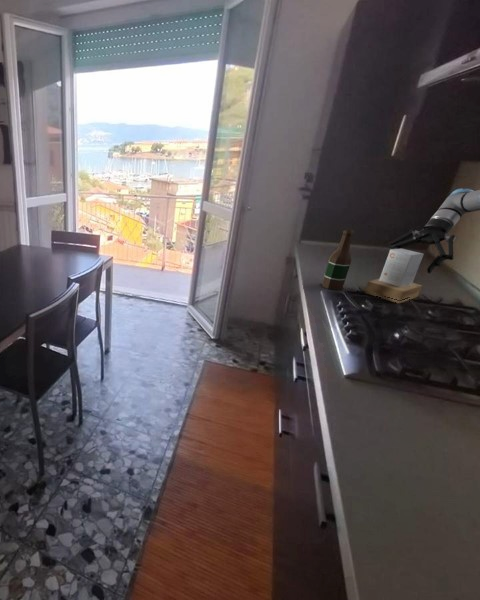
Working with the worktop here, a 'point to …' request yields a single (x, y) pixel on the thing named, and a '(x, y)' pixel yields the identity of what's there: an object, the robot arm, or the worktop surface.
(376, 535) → the worktop surface
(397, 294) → the birch block
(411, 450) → the worktop surface
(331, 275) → the beer bottle
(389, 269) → the small box
